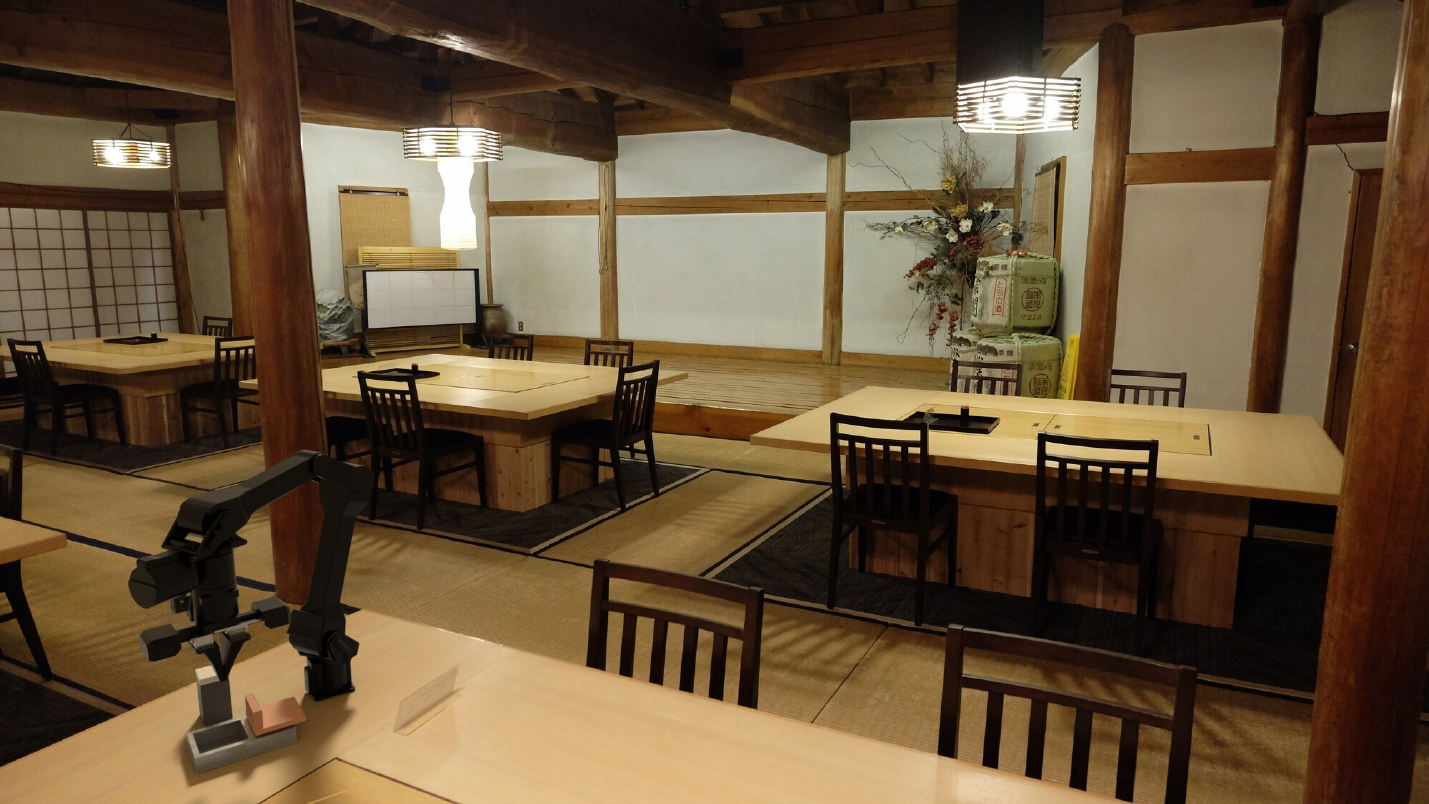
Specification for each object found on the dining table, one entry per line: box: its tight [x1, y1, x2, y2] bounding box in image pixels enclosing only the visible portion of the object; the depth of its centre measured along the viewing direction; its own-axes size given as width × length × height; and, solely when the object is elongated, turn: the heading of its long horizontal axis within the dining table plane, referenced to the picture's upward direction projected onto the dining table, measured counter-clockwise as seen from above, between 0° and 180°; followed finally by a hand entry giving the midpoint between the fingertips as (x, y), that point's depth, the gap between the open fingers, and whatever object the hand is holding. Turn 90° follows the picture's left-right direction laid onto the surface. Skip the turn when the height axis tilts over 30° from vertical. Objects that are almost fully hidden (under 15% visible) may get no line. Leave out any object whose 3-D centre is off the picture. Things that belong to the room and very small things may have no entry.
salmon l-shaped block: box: [244, 692, 307, 736], centre depth 133 cm, size 7×7×4 cm
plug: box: [195, 665, 234, 727], centre depth 138 cm, size 4×4×8 cm
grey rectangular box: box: [185, 714, 298, 775], centre depth 131 cm, size 13×8×2 cm, turn 129°
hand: (222, 680), depth 128 cm, fingers closed
